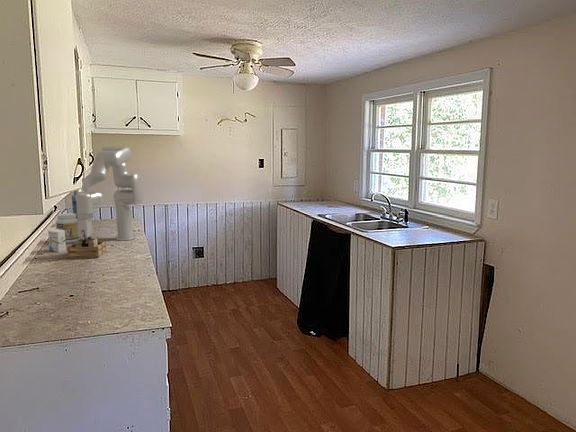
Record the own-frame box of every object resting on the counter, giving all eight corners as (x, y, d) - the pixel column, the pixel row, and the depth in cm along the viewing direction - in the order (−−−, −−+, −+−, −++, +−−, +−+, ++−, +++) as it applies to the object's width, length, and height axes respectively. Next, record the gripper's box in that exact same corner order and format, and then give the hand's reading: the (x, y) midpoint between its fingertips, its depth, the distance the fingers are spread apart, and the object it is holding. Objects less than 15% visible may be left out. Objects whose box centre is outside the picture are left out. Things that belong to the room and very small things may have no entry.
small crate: (80, 249, 244) (80, 238, 243) (97, 249, 245) (97, 238, 244) (76, 252, 238) (76, 241, 237) (94, 251, 239) (93, 240, 238)
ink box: (48, 250, 251) (47, 230, 249) (56, 248, 255) (55, 228, 253) (58, 252, 247) (57, 231, 245) (66, 250, 251) (65, 230, 249)
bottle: (91, 225, 330) (88, 185, 325) (81, 227, 321) (78, 186, 316) (81, 224, 333) (78, 184, 328) (70, 226, 324) (68, 185, 319)
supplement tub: (55, 243, 268) (53, 216, 265) (59, 239, 279) (57, 213, 276) (77, 242, 271) (75, 215, 268) (80, 238, 283) (78, 212, 280)
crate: (77, 252, 248) (76, 241, 247) (106, 251, 249) (105, 241, 249) (67, 258, 233) (67, 247, 233) (98, 258, 235) (97, 246, 234)
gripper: (83, 213, 246) (85, 245, 249) (72, 219, 229) (74, 253, 232) (97, 213, 247) (99, 245, 250) (87, 218, 230) (89, 252, 233)
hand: (87, 248), depth 241 cm, fingers closed on small crate, 5 cm apart
